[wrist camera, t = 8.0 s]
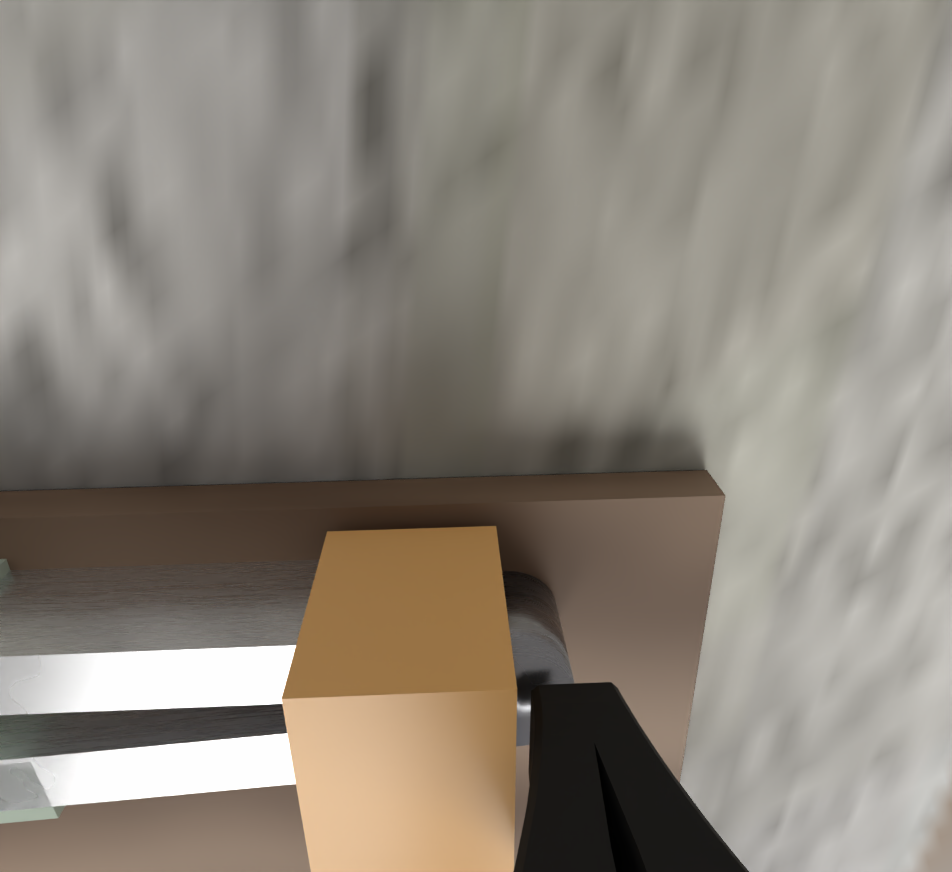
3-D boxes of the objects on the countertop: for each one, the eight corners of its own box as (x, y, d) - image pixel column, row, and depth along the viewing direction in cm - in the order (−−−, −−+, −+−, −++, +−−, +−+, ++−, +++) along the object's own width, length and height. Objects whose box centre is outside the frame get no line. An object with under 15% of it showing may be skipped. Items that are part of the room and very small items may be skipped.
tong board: (639, 934, 20) (675, 1084, 17) (65, 965, 20) (-6, 1125, 16) (706, 470, 14) (783, 574, 11) (-141, 495, 13) (-318, 613, 10)
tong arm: (453, 695, 14) (455, 780, 12) (-42, 741, 14) (-113, 834, 12) (445, 637, 14) (446, 718, 12) (-72, 685, 14) (-151, 774, 12)
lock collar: (496, 708, 14) (513, 903, 11) (348, 714, 14) (318, 913, 11) (496, 525, 13) (517, 689, 9) (326, 532, 12) (281, 699, 9)
